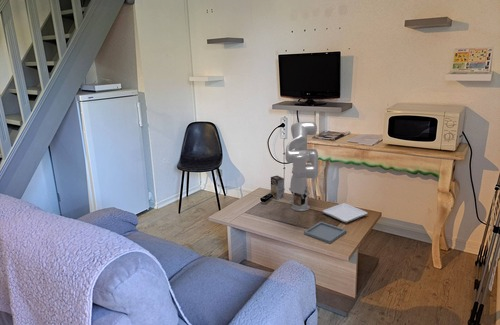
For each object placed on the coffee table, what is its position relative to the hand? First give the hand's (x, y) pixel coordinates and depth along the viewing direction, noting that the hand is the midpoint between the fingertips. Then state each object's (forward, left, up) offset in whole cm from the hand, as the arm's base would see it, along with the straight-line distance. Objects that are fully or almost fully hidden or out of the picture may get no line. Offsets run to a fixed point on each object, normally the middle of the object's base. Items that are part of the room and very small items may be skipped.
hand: (299, 202), depth 218 cm
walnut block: (0, 0, -1) cm, 1 cm away
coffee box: (-43, +31, -17) cm, 56 cm away
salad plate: (+12, +34, -18) cm, 40 cm away
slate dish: (+16, +4, -17) cm, 24 cm away
